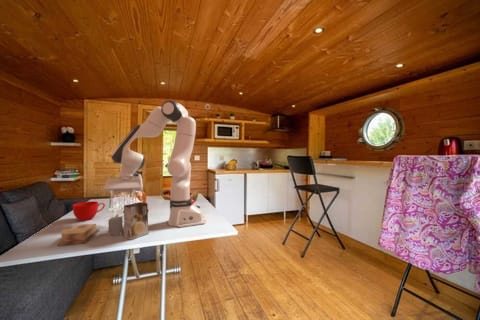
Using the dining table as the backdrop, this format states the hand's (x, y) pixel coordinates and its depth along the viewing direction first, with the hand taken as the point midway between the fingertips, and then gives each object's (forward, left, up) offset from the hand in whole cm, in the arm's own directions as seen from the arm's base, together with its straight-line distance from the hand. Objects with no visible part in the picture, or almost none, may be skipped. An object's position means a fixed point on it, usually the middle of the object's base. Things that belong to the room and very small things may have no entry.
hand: (121, 196), depth 119 cm
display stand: (+15, +14, -17) cm, 26 cm away
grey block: (0, +12, -17) cm, 21 cm away
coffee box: (-11, +18, -17) cm, 27 cm away
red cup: (+24, -20, -17) cm, 36 cm away
